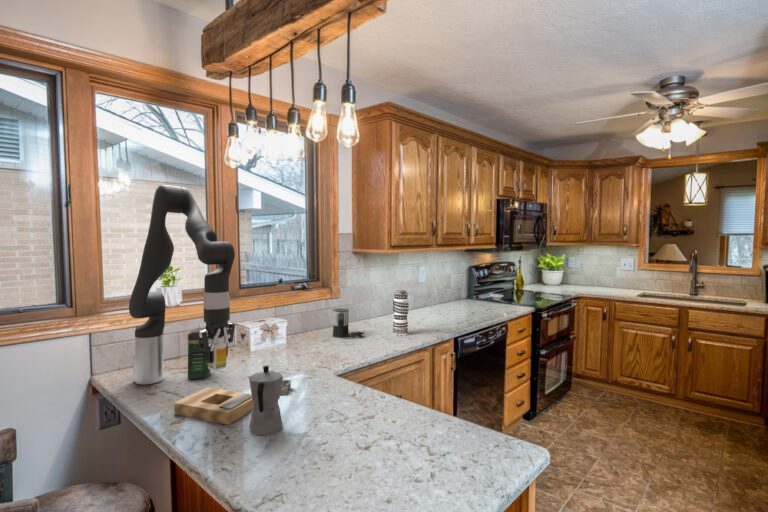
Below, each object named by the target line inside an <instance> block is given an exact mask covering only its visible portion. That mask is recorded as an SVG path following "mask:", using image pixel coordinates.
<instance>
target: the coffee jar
mask: <svg viewBox="0 0 768 512" xmlns="http://www.w3.org/2000/svg"><path fill="white" fill-rule="evenodd" d="M203 330H205V327H195V328H194V329H191V331H189V332H188V333H187V378H188V379H192V380H200V379H203V378H208V376H209V375H210V374H211V370H210V369H208V363H207V362H206V351H205V350H200V347H199V341H198V335H197V332H198V331H203ZM203 345H204V343H203Z"/></svg>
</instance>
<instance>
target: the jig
mask: <svg viewBox="0 0 768 512" xmlns="http://www.w3.org/2000/svg"><path fill="white" fill-rule="evenodd" d="M173 406H174V407H173V408H174V415H176V416H181V417H187V418H192V419H196V420H202V421H207V422H212V423H218V424H222V425H230V424H231V423H233V422H235V421H236V420H238V419H240V418H241V417H243V416H245V415H247V414H248V413H250V412H252V409H253V406H254V402H253V400H252V394H251V393H245V392H239V391H234V390H227V389H221V388H214V387H209V386H207V387H206V388H204V389H201V390H199V391H197V392H195V393H192V394H190V395H189V396H186V397H184V398H182V399H180V400H177V401H175V402H174V403H173Z"/></svg>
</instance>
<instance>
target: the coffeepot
mask: <svg viewBox="0 0 768 512" xmlns="http://www.w3.org/2000/svg"><path fill="white" fill-rule="evenodd" d="M262 368H263V371H260V372H255V373H253V374H252V375H250V376H248V380H249V386H250V392H251V393H250V394H252V400H253V402H254V406H253V409H252V410H251V415H250V421H249V427H248V429H249V432H250V433H251V434H252V435H255V436H257V437H258V436H260V437H263V436H264V437H265V436H271V435H273V434H276V433H279V431H281V430H282V428H283V427H284V426H283V421H282V417H281V415H282V414H281V410H280V409H281V407H280V406H279V400H280V398H281V395H280V393H281V386H282V379H283V380H284V376H283V374H282V373H281V372H279V371H274V370H273V369H271V370H270V369H269V368H270V366H269V365H264V366H262Z"/></svg>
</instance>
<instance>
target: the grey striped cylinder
mask: <svg viewBox="0 0 768 512" xmlns="http://www.w3.org/2000/svg"><path fill="white" fill-rule="evenodd" d="M393 294H394V298H393V300H392V305H393V306H392V311H393V312H392V314H393V321H392V323H393V324H392V326H393V328H392V333H395V334H406V333H408V332H409V328H408V327H409V325H408V324H409V322H408V320H409V319H408V314H409V309H408V308H409V307H410V306H409V305H410V304H409V303H408V301H409V299H408V294H409V292H407V291H406V289H405V290H403V289H400V290H398V289H397V290H396V291H395V292H393Z"/></svg>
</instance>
